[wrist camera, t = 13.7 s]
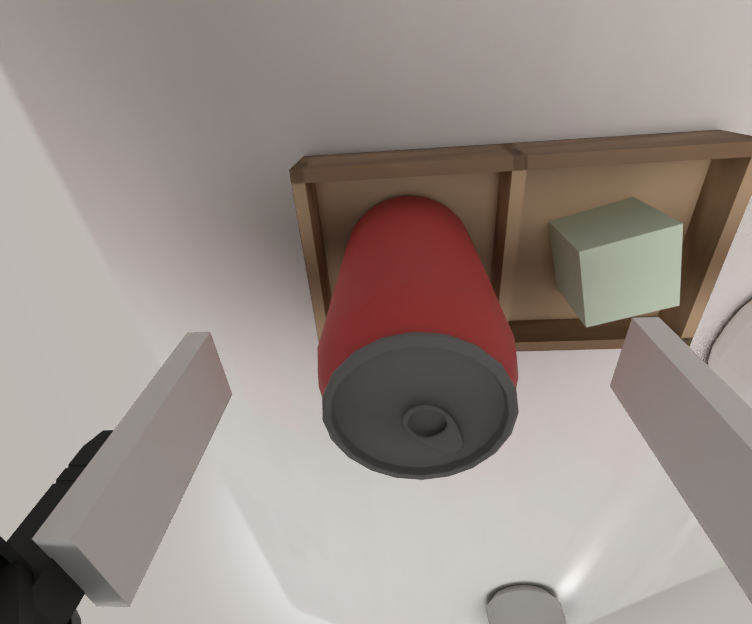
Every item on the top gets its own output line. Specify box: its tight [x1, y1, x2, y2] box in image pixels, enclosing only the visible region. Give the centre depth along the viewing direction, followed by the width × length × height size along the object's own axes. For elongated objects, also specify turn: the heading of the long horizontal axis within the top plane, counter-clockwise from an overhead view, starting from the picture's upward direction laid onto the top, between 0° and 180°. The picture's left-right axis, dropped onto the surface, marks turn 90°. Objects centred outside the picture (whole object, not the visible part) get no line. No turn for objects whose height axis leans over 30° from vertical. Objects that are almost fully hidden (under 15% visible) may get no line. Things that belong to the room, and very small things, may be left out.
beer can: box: [318, 196, 518, 480], centre depth 17 cm, size 7×7×12 cm
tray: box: [289, 130, 752, 351], centre depth 21 cm, size 10×20×3 cm, turn 94°
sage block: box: [549, 197, 683, 327], centre depth 19 cm, size 4×4×4 cm
